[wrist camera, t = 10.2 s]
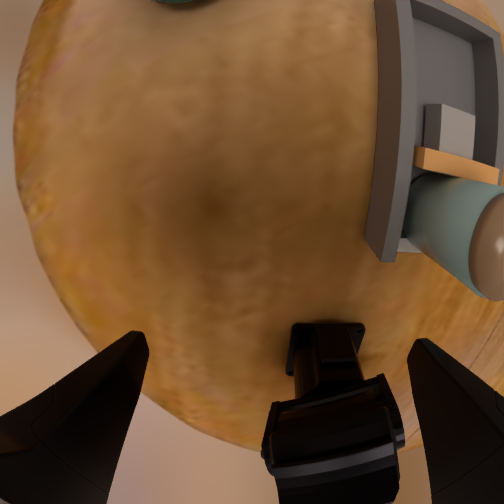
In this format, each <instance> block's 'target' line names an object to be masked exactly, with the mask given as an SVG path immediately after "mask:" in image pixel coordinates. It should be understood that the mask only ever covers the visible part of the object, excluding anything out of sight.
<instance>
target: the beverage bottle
mask: <svg viewBox="0 0 504 504" xmlns="http://www.w3.org/2000/svg"><path fill="white" fill-rule="evenodd" d="M152 1H153V0H152ZM156 1H160V3H162V2H164V3H172V4H176V3H186V2H191V1H194V0H156ZM156 1H155V2H156Z"/></svg>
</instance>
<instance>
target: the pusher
mask: <svg viewBox="0 0 504 504" xmlns="http://www.w3.org/2000/svg"><path fill="white" fill-rule="evenodd" d="M474 135H475V116H474V115H471V114H469V113H466V112H464V111H461V110H458V109H456V108H453V107H450V106H447V105H444V104H426V115H425V133H424V146H423V147H421V146H417V145H414V154H413V163H412V165H414V166H417V167H419V168H422V169H426V170H431V171H436V172H440V173H445V174H449V175H454V176H458V177H462V178H467V179H472V180H476V181H481V182H485V183H490V184H494V185H497V183H498V176H499V169H498V168H495V167H492V166H489V165H486V164H483V163H480V162H477V161H474V160H472V157H473V147H474Z"/></svg>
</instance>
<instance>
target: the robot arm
mask: <svg viewBox="0 0 504 504" xmlns="http://www.w3.org/2000/svg"><path fill="white" fill-rule="evenodd" d="M296 329H300V330H298V331H296ZM359 329H360V330H359ZM364 333H365V327H364V325H363V324H295V325H293V326H292V328H291V336H290V343H289V350H288V357H287V364H286V375H288V376H294V383H295V399H293V400H288V401H283V402H279V401H277V402H272V405H271V409H270V411H269V415H268V420H267V424H266V428H265V432H264V437H263V441H262V445H261V447H262V450H261V457H262V458H263V459H264V460H265V464H266V467H267V470H268V471H269V473H270V474H271V475H272V476H274V477H275V481H276V485H277V490H278V497H279V504H391V503H393V502H394V500H395V498H396V495H397V493H398V491H399V480H400V473H399V464H398V456H397V450H398V449H400V448H403V447H404V446H405V435H404V428H403V423H402V419H401V415H400V412H399V409H398V406H397V403H396V401H395V399H394V396H393V394H392V392H391V389H390V387H389V385H388V382H387V380H386V378H385V376H384V373H382V374H379V375H377V377H374V378H371V379H368V380H364V376H363V372H362V369H361V365H360V362H359V359H358V355H357V353H358V351H359V348H360V345H361V342H362V339H363V336H364ZM148 358H149V348H148V345H147V341H146V338H145V335H144V333H143V332H140V331H130V332H128V333H127V334H125V335H124V336H123V337H121V338H120V339H118V340H117V341H115V342H114V343H112V344H111V345H110V346H108V347H107V348H105V349H104V350H102V351H101V352H99V353H98V354H97V355H95V356H94V357H92V358H91V359H89V360H88V361H86V362H85V363H84V364H82V365H81V366H79V367H78V368H76V369H75V370H74V371H72V372H71V373H69V374H68V375H66V376H65V377H63V378H62V379H61V380H59V381H58V382H56V383H55V385H54V384H53V385H52V386H50V387H49V388H48V389H46V390H45V391H43V392H42V393H40V394H39V395H37V396H36V397H34V398H32V399H31V400H29V401H27V402H26V403H24V404H22V405H20V406H18V407H16V408H15V409H13V410H11V411H9V412H7V413H6V414H4V415H2V416H0V504H106V503H107V500H108V495H109V492H110V488H111V484H112V481H113V477H114V474H115V470H116V467H117V463H118V460H119V457H120V453H121V450H122V447H123V444H124V441H125V437H126V434H127V431H128V428H129V425H130V422H131V419H132V416H133V413H134V410H135V407H136V405H137V402H138V399H139V395H140V392H141V388H142V384H143V379H144V375H145V371H146V366H147V362H148ZM407 364H408V369H409V375H410V381H411V387H412V394H413V399H414V404H415V408H416V412H417V416H418V420H419V425H420V429H421V434H422V439H423V444H424V449H425V455H426V460H427V467H428V473H429V480H430V488H431V495H432V496H431V499H432V504H504V397H503V396H501V395H500V394H499V393H498V392H497V391H494V389H493V388H492V387H490V386H489V385H488V384H486V383H485V382H484V381H483V380H481V379H480V378H479V377H478V376H476V375H475V374H474V373H472V372H471V371H470V370H469V369H467V368H466V367H465V366H463V365H462V364H461V363H460V362H458V361H457V360H456V359H454V358H453V357H452V356H450V355H449V354H448V353H446V352H445V351H444V350H442V349H441V348H440V347H438V346H437V345H436V344H434V343H433V342H432V341H430V340H429V339H427V338H420V339H416V340H415V342H414V344H413V346H412V348H411V350H410V352H409V354H408V357H407ZM290 371H291V372H290Z"/></svg>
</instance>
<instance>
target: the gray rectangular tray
mask: <svg viewBox="0 0 504 504" xmlns="http://www.w3.org/2000/svg"><path fill="white" fill-rule="evenodd" d="M374 6H375V15H376V27H377V43H378V119H377V137H376V150H375V161H374V171H373V180H372V189H371V196H370V204H369V211H368V217H367V224H366V230H365V235H364V239H365V241H366V242H367V243H368V245H369V246H370V248H371V249H372V250H373V252H374V253H375V255H376V256H377V257H378V259H379V260H380V262H395V258H396V254H397V252H415V253H423V252H421V251H420V250H418V249H417V248H416V247H414V246H413V245H412V244H411V243H410V242H409V240H408V239H407V237H406V235H405V232H404V230H403V221H404V216H405V211H406V205H407V199H408V193H409V188H410V187H411V185H412V184H413V183H414V182H415V181H416V180H417V179H418V178H420V177H421V176H423V175H425V174H429V173H440V172H436V171H431V170H426V169H422V168H419V167H417V166H414V165H412V163H413V154H414V145H417V146H421V147H423V146H424V133H425V115H426V104H444V105H447V106H450V107H453V108H456V109H458V110H461V111H464V112H466V113H469V114H471V115H474V116H475V135H474V147H473V157H472V160H474V161H477V162H480V163H483V164H486V165H489V166H492V167H495V168H498V169H499V176H498V183H497V185H498V186H500V185H501V179H502V172H503V165H504V57H503V50H502V43H501V37H500V33H498V32H497V31H495V30H494V29H492V28H491V27H489V26H488V25H486V24H484V23H483V22H481V21H480V20H478V19H476V18H474V17H473V16H471V15H469V14H467V13H465V12H464V11H462V10H460V9H458V8H456V7H454V6H452V5H450V4H448V3H446V2H444V1H442V0H374ZM440 174H445V173H440ZM446 175H449V174H446ZM451 176H454V175H451ZM456 177H458V176H456Z"/></svg>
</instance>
